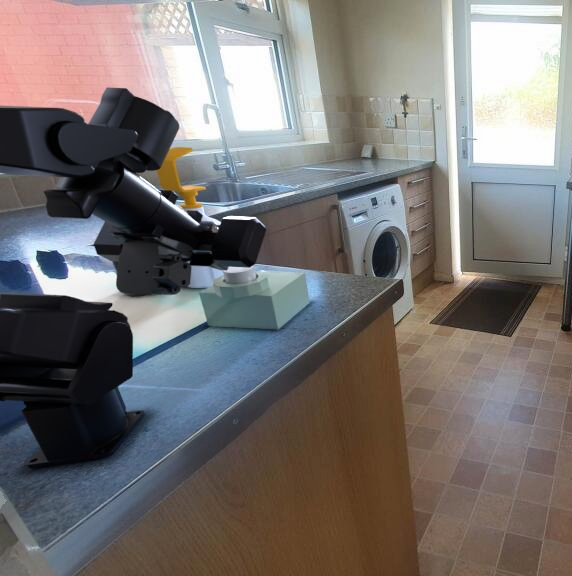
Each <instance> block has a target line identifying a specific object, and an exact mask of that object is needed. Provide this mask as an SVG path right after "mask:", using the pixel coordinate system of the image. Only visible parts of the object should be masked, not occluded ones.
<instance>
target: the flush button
mask: <svg viewBox="0 0 572 576" xmlns="http://www.w3.org/2000/svg"><path fill="white" fill-rule="evenodd" d="M255 270H256V269H255V264H254V265H253V266H251V267H250V268H245V267H229V268H228V270H227V271H226V270H223V274H224V278H225V282H226V283H227V284H240V283H246V282H249V281H253V280H255V279H257V277H256V273H255Z"/></svg>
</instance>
